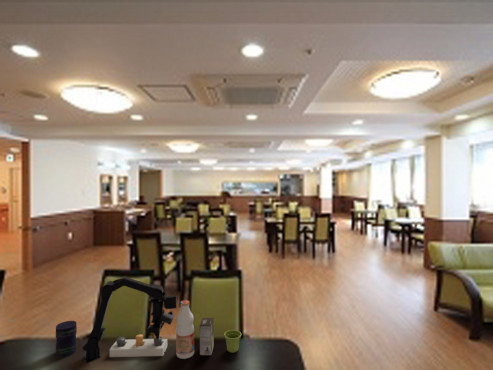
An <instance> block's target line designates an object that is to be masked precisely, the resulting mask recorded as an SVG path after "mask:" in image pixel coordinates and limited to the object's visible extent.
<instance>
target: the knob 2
mask: <svg viewBox="0 0 493 370" xmlns="http://www.w3.org/2000/svg"><path fill="white" fill-rule="evenodd" d="M153 339H154V345H155V346H160V345H161V342H162V339H163V337H162V336H159V338H158V339H157V338H156V336H154V338H153Z"/></svg>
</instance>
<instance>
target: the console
mask: <svg viewBox="0 0 493 370" xmlns="http://www.w3.org/2000/svg"><path fill="white" fill-rule="evenodd" d="M124 344H125V345H124V346H123V347H117V342H116V341H115V342H114V343H113V344H112V345H111V347H110V348H109V358H122V357H123V358H128V357H129V358H131V357H134V358H135V357H137V358H138V357H164V355H165V353H166V350H167V348H168V338H162V342H161V345H160V346H155V345H154V338H143V345H142V346H136V338H135V339H133V338H132V339H131V338H130V339H125V342H124ZM164 352H165V353H164Z"/></svg>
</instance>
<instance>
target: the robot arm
mask: <svg viewBox="0 0 493 370" xmlns="http://www.w3.org/2000/svg"><path fill="white" fill-rule="evenodd" d="M123 287H126V288H130V289H133V290H136V291H138V292H143V293H145V294H146V295H148V296H149V297H150V298H149V300H148V302H147V304H151V313H150V316H151V317H152V318H151V321H150V323H151V324H149V326H148V327H147V329H146V331H147V334H154V337H156V338H157V339H158V338H159V336H160V335H161V331H162V328H163V327H164V325H165V324H168V325H171V324H172V323H173V321H174V317H175V316H174V312H173V311H172V310H174V309H176V310H177V308H178V300H177V295H175V294H174V295H168V294H167V293H166V292H165V291H164V288H163V286H162V285H159V284H155V283H154V284H153V283H152V284H150V283H146V282H142V281H139V280H137V279H134V278H130V277H128V276H125V275H124V276H123V277H120V278H117V279H114V280H113V281H112V280H110V281H107V282H106V283H105V284H104V285H103V286H102V287H101V288H100V289H101V290H100V300H101V301H100V303H99V307H98V311H97V315H96V319H95V323H94V326H93V328H92V330H91V332H90V334H89V336H88V338H87V340H86V341H85V343H84V344H83V346H82V349H83V357H82V359H83V360H84V361H85V362H86V363H90V362H92V361H94V360H97V359H100V358H101V355H100V352H101V349H100V348H101V347H100V344H99V343H100V342H101V341H102V340H103V338H104V336H105V332H106V329H107V327H104V322H105V319H106V315H107V311H108V307H109V304H110V300H111V298H112V296H113V294H114V292H116V291H117V290H119V289H120V288H123ZM164 308H165V309H164ZM165 310H170V311H169V312H166V311H165ZM160 337H161V336H160Z"/></svg>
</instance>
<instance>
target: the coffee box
mask: <svg viewBox="0 0 493 370" xmlns="http://www.w3.org/2000/svg"><path fill="white" fill-rule="evenodd" d="M214 326H215V325H214V317H203V318H202V319H201V322H200V324H199V355H200V356H211V355H212V353H213V349H214V343H215V341H214V340H215V339H214V337H215V335H214V331H215V330H214Z"/></svg>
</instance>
